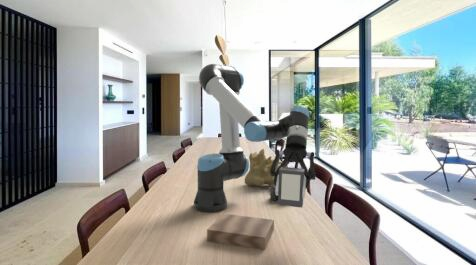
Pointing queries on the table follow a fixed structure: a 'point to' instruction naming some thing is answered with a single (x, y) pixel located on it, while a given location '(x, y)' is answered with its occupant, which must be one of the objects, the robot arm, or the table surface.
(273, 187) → the camera
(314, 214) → the table surface
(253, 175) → the decorative coral
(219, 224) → the display block
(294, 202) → the tall slate rectangular prism
